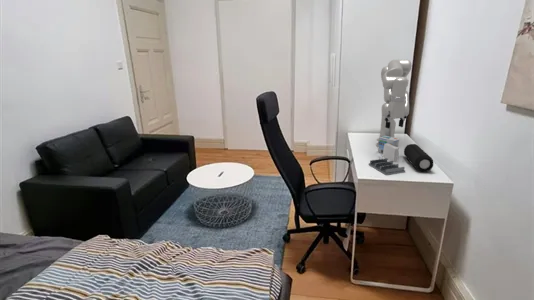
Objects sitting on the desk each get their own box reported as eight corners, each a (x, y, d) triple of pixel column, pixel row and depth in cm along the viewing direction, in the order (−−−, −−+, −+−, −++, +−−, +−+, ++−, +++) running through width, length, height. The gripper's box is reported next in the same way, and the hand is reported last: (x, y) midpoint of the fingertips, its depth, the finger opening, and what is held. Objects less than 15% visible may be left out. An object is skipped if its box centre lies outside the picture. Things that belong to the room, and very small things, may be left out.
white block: (382, 156, 190) (384, 143, 187) (386, 156, 191) (388, 143, 188) (393, 162, 181) (395, 148, 178) (397, 161, 182) (399, 148, 179)
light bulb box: (377, 152, 199) (379, 137, 195) (382, 150, 203) (384, 135, 199) (392, 156, 191) (394, 140, 187) (397, 154, 195) (399, 138, 191)
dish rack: (368, 164, 177) (369, 160, 176) (386, 162, 181) (387, 157, 180) (385, 175, 163) (386, 170, 162) (405, 172, 167) (405, 167, 166)
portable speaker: (433, 173, 165) (436, 157, 161) (414, 172, 166) (417, 156, 163) (417, 157, 189) (420, 142, 185) (401, 157, 190) (403, 142, 187)
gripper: (405, 97, 179) (401, 124, 185) (381, 99, 174) (378, 127, 180) (414, 99, 172) (410, 127, 178) (389, 101, 168) (386, 130, 173)
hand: (394, 127), depth 179 cm, fingers open, 9 cm apart
